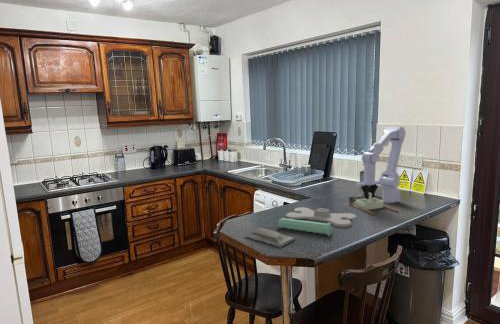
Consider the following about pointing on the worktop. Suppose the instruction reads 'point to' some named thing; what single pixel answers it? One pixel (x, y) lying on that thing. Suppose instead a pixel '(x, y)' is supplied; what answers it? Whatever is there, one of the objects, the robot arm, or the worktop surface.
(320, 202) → the worktop surface
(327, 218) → the holder
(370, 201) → the green tray with post
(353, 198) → the bay
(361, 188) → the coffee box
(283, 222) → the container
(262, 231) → the grey stepped block
